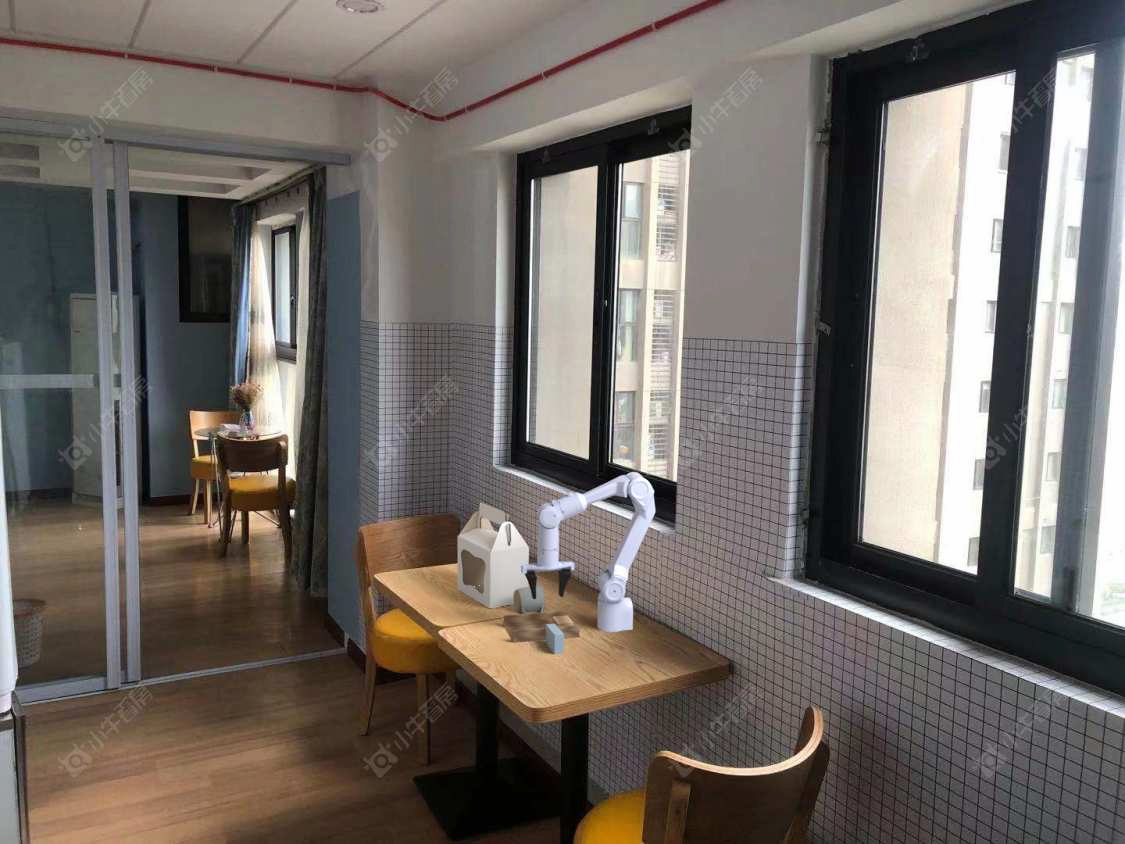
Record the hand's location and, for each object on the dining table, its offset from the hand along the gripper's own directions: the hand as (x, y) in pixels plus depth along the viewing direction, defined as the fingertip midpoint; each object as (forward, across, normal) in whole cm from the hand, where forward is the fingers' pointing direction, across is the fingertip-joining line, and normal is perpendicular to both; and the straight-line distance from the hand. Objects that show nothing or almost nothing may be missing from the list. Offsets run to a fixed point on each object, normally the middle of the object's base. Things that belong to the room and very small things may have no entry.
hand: (547, 597), depth 248 cm
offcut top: (+8, -4, +2) cm, 9 cm away
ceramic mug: (+10, 0, -16) cm, 19 cm away
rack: (+10, +2, +1) cm, 10 cm away
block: (+10, +2, +14) cm, 17 cm away
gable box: (+10, +8, -35) cm, 37 cm away
